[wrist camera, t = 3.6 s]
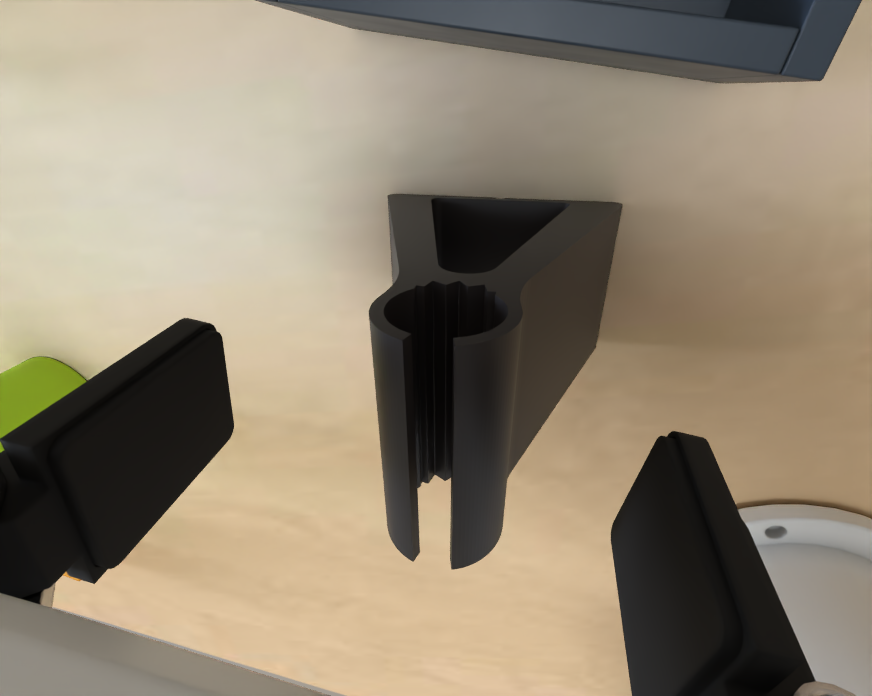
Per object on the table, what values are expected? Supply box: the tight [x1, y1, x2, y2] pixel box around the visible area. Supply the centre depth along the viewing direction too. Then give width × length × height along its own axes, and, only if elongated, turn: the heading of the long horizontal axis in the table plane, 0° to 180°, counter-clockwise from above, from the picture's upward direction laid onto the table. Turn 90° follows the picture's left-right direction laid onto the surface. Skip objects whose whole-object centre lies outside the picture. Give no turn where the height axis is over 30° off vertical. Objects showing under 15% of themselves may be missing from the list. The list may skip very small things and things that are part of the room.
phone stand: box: [369, 194, 622, 569], centre depth 14 cm, size 9×6×12 cm, turn 90°
